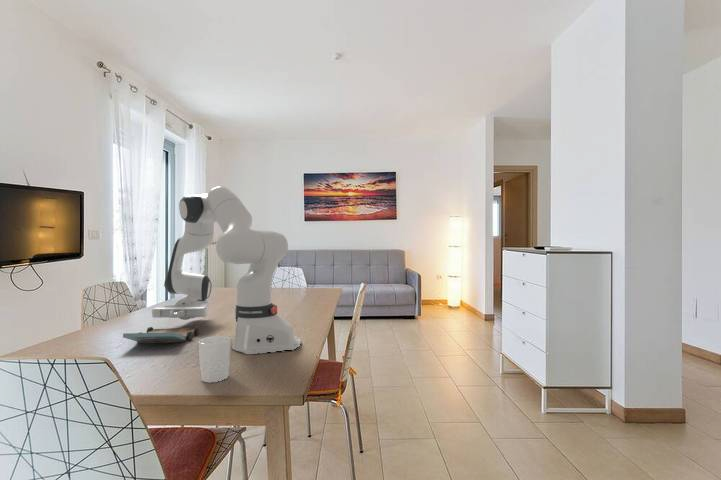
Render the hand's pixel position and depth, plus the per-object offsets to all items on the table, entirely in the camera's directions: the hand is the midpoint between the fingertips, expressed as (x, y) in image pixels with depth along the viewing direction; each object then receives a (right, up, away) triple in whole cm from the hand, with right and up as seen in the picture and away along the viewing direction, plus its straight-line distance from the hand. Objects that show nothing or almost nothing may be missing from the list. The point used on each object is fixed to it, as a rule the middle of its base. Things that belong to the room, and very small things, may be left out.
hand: (173, 315), depth 140 cm
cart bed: (+1, -7, -4) cm, 9 cm away
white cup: (+33, -8, -44) cm, 55 cm away
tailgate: (+1, -6, -11) cm, 13 cm away
